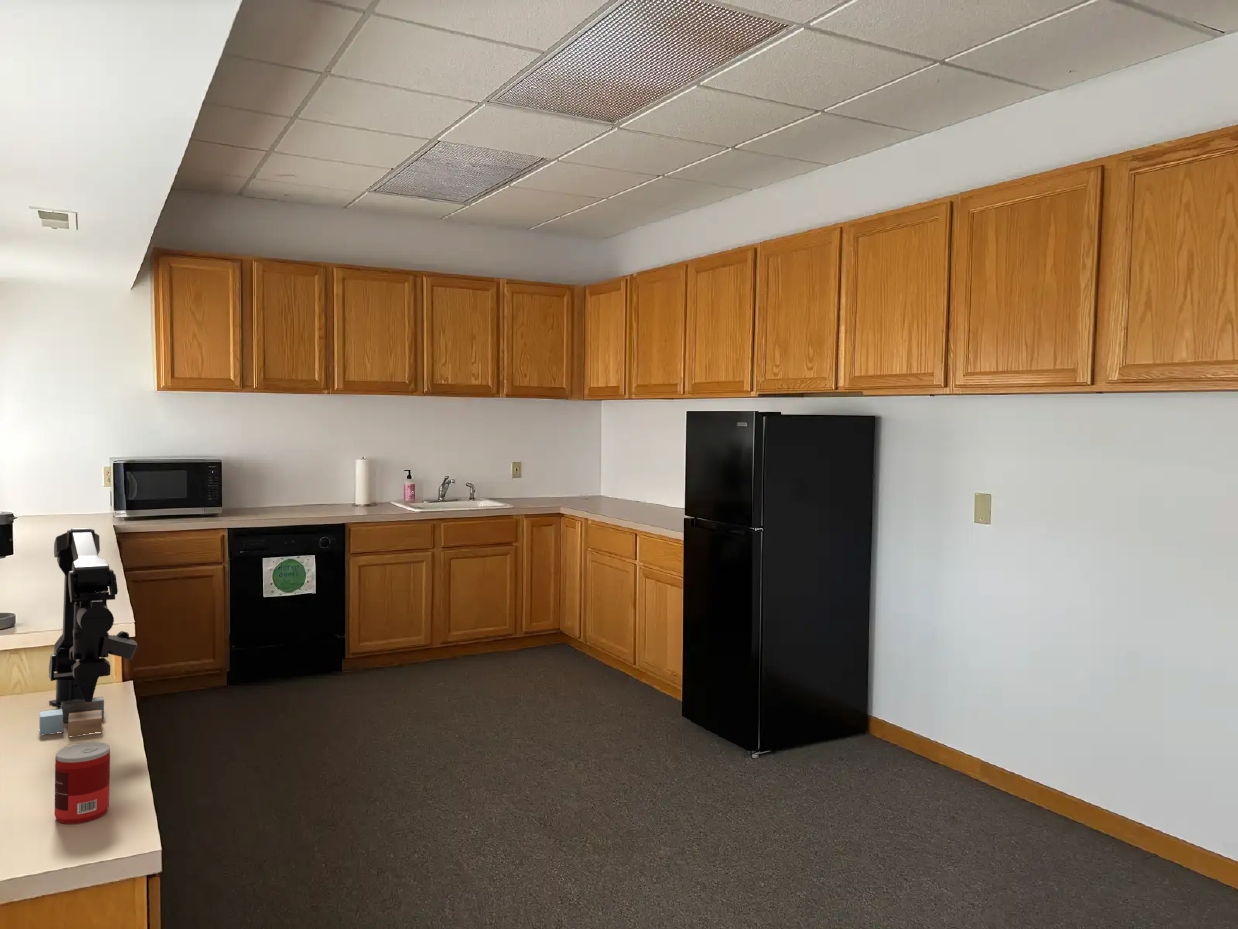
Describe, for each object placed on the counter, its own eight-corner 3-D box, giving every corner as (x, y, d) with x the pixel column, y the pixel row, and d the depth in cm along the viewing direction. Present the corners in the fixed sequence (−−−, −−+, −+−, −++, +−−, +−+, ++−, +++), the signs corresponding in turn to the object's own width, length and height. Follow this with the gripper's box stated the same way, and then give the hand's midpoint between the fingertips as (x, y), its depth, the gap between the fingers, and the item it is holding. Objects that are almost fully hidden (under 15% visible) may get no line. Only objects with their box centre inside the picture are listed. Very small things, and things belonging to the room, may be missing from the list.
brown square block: (68, 729, 190) (69, 713, 190) (101, 725, 193) (101, 709, 193) (68, 738, 185) (68, 721, 184) (101, 734, 188) (101, 718, 188)
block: (39, 730, 188) (39, 711, 188) (61, 727, 190) (61, 709, 190) (39, 736, 185) (40, 717, 185) (62, 733, 187) (62, 714, 187)
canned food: (119, 806, 153) (120, 743, 153) (86, 826, 145) (88, 760, 145) (77, 803, 154) (78, 740, 153) (43, 823, 146) (44, 757, 145)
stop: (60, 719, 195) (60, 701, 195) (102, 714, 199) (103, 696, 199) (61, 723, 192) (61, 705, 192) (103, 718, 197) (104, 700, 197)
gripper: (139, 631, 178) (138, 708, 178) (130, 613, 193) (128, 684, 194) (74, 637, 172) (73, 717, 172) (70, 618, 187) (68, 691, 188)
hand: (88, 701), depth 182 cm, fingers closed
